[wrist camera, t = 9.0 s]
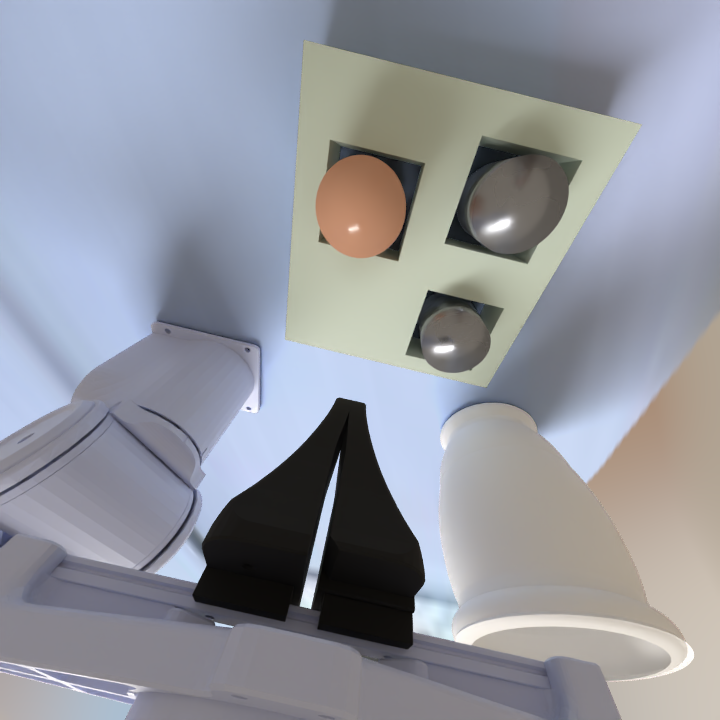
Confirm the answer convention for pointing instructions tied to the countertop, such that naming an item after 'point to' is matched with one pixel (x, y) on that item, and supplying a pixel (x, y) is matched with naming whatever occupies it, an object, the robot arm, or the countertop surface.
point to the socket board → (428, 203)
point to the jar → (541, 554)
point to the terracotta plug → (360, 206)
